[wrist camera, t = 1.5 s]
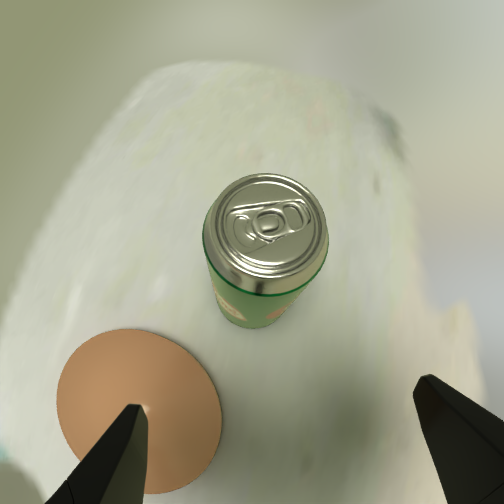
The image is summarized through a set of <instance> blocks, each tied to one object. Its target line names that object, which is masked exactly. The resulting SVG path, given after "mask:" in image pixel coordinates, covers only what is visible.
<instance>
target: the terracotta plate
mask: <svg viewBox="0 0 504 504" xmlns="http://www.w3.org/2000/svg"><path fill="white" fill-rule="evenodd" d="M130 403H132V404H141V405H142V407H143V409H144V412H145V414H146V416H147V419H148V461H147V473H146V481H145V488H144V494H160V493H165V492H170V491H173V490H176V489H179V488H181V487H183V486H185V485H187V484H189V483H190V482H192V481H193V480H195V479H196V478H197V477H198V476H199V475H200V474H201V473H202V472H203V471H204V470H205V469H206V468H207V466H208V465H209V464H210V462H211V460H212V458H213V457H214V455H215V452H216V449H217V447H218V444H219V439H220V434H221V429H222V413H221V405H220V401H219V397H218V394H217V391H216V389H215V386H214V384H213V382H212V380H211V378H210V376H209V375H208V374H207V372H206V371H205V369H204V368H203V366H202V365H201V364H200V363H199V362H198V361H197V360H196V359H195V358H194V357H193V356H192V355H191V354H190V353H189V352H188V351H186V350H185V349H183V348H182V347H181V346H179V345H178V344H176V343H174V342H172V341H170V340H168V339H166V338H163V337H161V336H158V335H156V334H153V333H150V332H146V331H142V330H134V329H119V330H113V331H108V332H105V333H101V334H99V335H97V336H95V337H93V338H91V339H89V340H88V341H86V342H85V343H83V344H82V345H81V346H80V347H79V348H78V349H76V351H75V352H74V353H73V354H72V355H71V357H70V358H69V360H68V361H67V363H66V364H65V366H64V369H63V371H62V373H61V376H60V379H59V383H58V389H57V413H58V418H59V423H60V426H61V429H62V432H63V434H64V437H65V439H66V441H67V443H68V445H69V446H70V448H71V449H72V451H73V453H74V454H75V455H76V456H77V458H78V459H79V460H80V461H82V459H83V458H84V457H85V456H86V454H87V453H88V452H89V451H90V449H91V448H92V447H93V446H94V445H95V443H96V442H97V441H98V440H99V438H100V437H101V436H102V435H103V434H104V432H105V431H106V430H107V429H108V427H109V426H110V425H111V424H112V423H113V421H114V420H115V419H116V418H117V416H118V415H119V414H120V413H121V411H122V410H123V409H124V408H125V407H126V405H127V404H130Z"/></svg>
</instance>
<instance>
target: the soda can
mask: <svg viewBox="0 0 504 504" xmlns="http://www.w3.org/2000/svg"><path fill="white" fill-rule="evenodd" d="M202 241H203V247H204V252H205V256H206V260H207V264H208V268H209V272H210V276H211V280H212V284H213V288H214V291H215V295H216V299H217V303H218V305H219V308H220V310H221V311H222V313H223V314H224V316H225V317H226V318H227V319H228V320H230V321H231V322H232V323H234V324H236V325H238V326H240V327H244V328H251V329H255V328H261V327H265V326H267V325H270V324H271V323H273V322H274V321H275V320H277V319H278V318H279V317H280V316H281V315H282V313H283V312H284V311H285V310H286V309H287V308H288V307H289V306H290V305H291V304H292V302H293V301H294V300H295V299H296V298H297V297H298V296H299V295H300V293H301V292H302V291H303V290H304V289H305V288H306V287H307V285H308V284H309V283H310V282H311V281H312V280H313V279H314V277H315V276H316V275H317V274H318V272H319V271H320V270H321V268H322V266H323V264H324V262H325V259H326V256H327V253H328V246H329V235H328V229H327V225H326V219H325V215H324V212H323V209H322V207H321V205H320V203H319V202H318V200H317V199H316V197H315V196H314V195H313V194H312V193H311V192H310V191H309V190H308V189H307V188H306V187H305V186H303V185H302V184H301V183H299V182H297V181H295V180H293V179H291V178H288V177H286V176H283V175H278V174H271V173H260V174H253V175H249V176H246V177H243V178H241V179H239V180H237V181H235V182H233V183H232V184H231V185H229V186H228V187H227V188H226V189H225V190H224V191H223V192H222V193H221V194H220V196H219V197H218V198H217V200H216V201H215V202H214V203H213V205H212V206H211V207H210V209H209V211H208V213H207V215H206V218H205V221H204V224H203V231H202Z"/></svg>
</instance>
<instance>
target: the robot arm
mask: <svg viewBox="0 0 504 504" xmlns="http://www.w3.org/2000/svg"><path fill="white" fill-rule="evenodd" d="M413 399H414V403H415V406H416V410H417V413H418V417H419V421H420V425H421V428H422V432H423V435H424V438H425V440H426V443H427V445H428V448H429V451H430V454H431V456H432V459H433V462H434V465H435V467H436V470H437V473H438V476H439V479H440V482H441V485H442V488H443V491H444V494H445V497H446V500H447V503H448V504H504V422H503V420H501V419H500V418H498V417H497V416H495V415H493V414H492V413H491V412H489V411H488V410H486V409H484V408H483V407H481V406H480V405H478V404H477V403H475V402H474V401H472V400H471V399H469V398H468V397H466V396H465V395H463V394H462V393H460V392H458V391H457V390H455V389H454V388H452V387H451V386H449V385H448V384H446V383H445V382H443V381H442V380H440V379H439V378H437V377H436V376H434V375H432V374H428V375H424V376H421V377H420V379H419V381H418V383H417V385H416V387H415V389H414V391H413ZM147 461H148V419H147V416H146V414H145V412H144V409H143V407H142V405H141V404H132V403H130V404H127V405H126V407H125V408H124V409H123V410H122V411H121V413H120V414H119V415H118V416H117V418H116V419H115V420H114V421H113V423H112V424H111V425H110V426H109V427H108V429H107V430H106V431H105V432H104V434H103V435H102V436H101V437H100V438H99V440H98V441H97V442H96V443H95V445H94V446H93V447H92V448H91V449H90V451H89V452H88V453H87V454H86V456H85V457H84V458H83V459H82V461H81V462H80V463H79V464H78V465H77V467H76V468H75V469H74V470H73V472H72V473H71V474H70V475H69V476H68V478H67V480H65V481H64V482H63V484H62V485H61V486H60V487H59V488H58V490H57V491H56V492H55V493H54V494H53V495H52V496H51V498H50V499H49V500H48V501H47V502H46V503H45V504H143V496H144V488H145V481H146V473H147Z"/></svg>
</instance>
